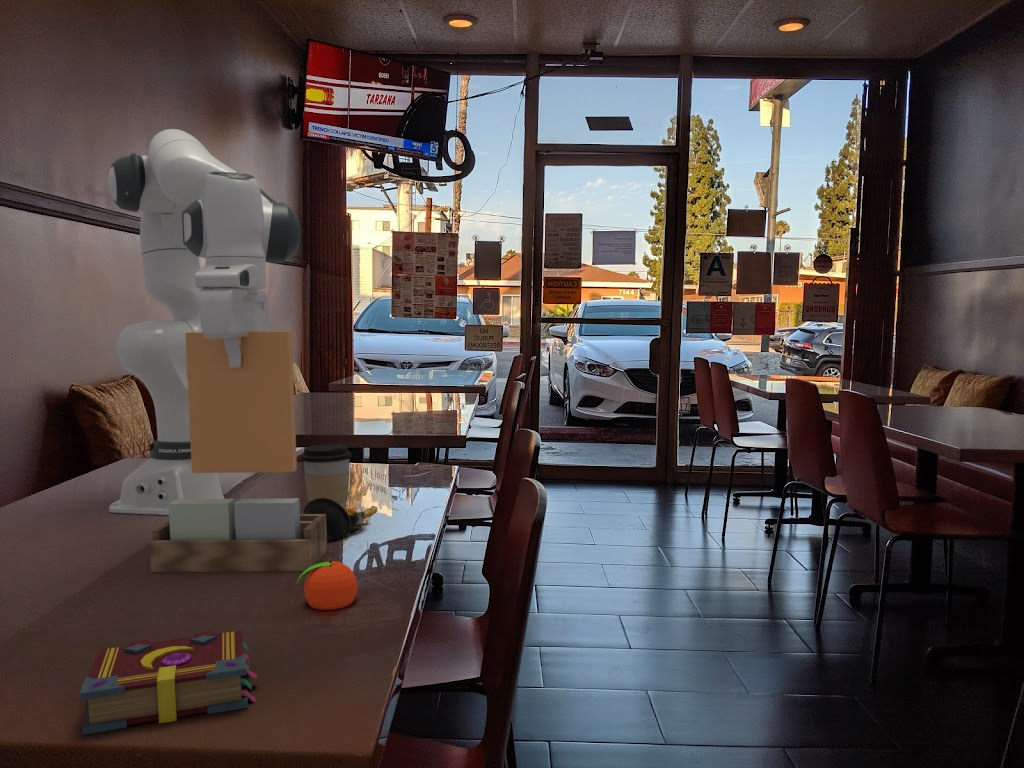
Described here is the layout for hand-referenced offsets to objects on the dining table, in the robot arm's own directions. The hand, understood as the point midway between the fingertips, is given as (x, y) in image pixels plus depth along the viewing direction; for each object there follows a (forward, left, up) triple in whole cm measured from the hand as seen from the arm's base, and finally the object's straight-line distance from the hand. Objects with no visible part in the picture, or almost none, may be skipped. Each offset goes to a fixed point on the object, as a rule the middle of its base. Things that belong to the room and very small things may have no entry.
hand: (240, 366), depth 127 cm
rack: (0, -3, -32) cm, 32 cm away
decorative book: (+8, -44, -32) cm, 55 cm away
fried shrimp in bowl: (+12, +15, -32) cm, 37 cm away
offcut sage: (-5, -5, -30) cm, 31 cm away
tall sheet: (0, 0, -17) cm, 17 cm away
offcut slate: (+5, -5, -30) cm, 31 cm away
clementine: (+18, -21, -32) cm, 42 cm away
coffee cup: (+7, +24, -32) cm, 40 cm away
